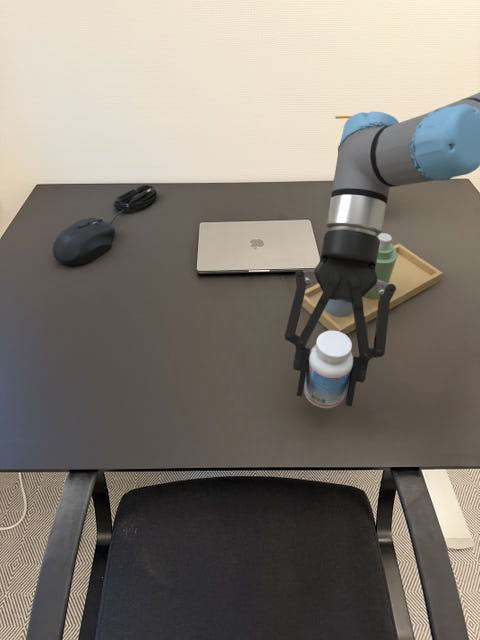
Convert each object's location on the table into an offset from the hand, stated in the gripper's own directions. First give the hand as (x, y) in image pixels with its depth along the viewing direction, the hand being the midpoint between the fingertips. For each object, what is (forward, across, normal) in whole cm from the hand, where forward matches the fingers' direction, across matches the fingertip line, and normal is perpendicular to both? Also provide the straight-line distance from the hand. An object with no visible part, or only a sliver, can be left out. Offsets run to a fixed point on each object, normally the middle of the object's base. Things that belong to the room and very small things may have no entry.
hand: (323, 399), depth 65 cm
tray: (-18, -6, -30) cm, 36 cm away
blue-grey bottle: (-14, -1, -26) cm, 29 cm away
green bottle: (-18, -6, -30) cm, 36 cm away
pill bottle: (0, 0, -5) cm, 5 cm away
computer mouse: (-23, +53, -36) cm, 68 cm away
